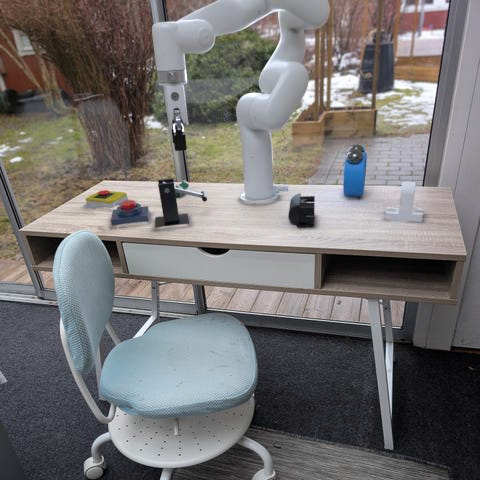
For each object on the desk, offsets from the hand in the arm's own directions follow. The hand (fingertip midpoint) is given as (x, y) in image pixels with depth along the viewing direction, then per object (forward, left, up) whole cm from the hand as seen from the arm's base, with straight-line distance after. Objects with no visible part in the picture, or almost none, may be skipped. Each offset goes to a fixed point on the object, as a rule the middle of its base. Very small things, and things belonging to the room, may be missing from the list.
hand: (179, 146), depth 132 cm
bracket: (+5, +1, -22) cm, 22 cm away
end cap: (-32, +12, -22) cm, 40 cm away
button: (+18, -6, -18) cm, 26 cm away
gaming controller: (+2, -26, -22) cm, 34 cm away
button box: (+18, -6, -22) cm, 29 cm away
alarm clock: (-53, -5, -22) cm, 58 cm away
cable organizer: (-60, +18, -22) cm, 66 cm away
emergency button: (+26, -24, -22) cm, 42 cm away
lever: (+1, +1, -14) cm, 14 cm away
